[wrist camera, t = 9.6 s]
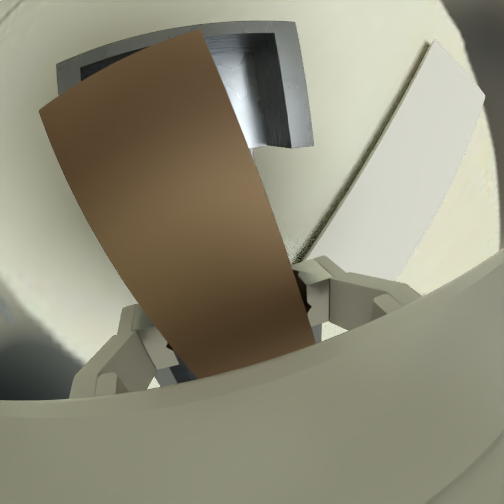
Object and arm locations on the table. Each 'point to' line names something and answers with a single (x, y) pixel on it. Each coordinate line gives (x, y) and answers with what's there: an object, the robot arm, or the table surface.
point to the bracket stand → (230, 92)
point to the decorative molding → (405, 172)
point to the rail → (180, 205)
